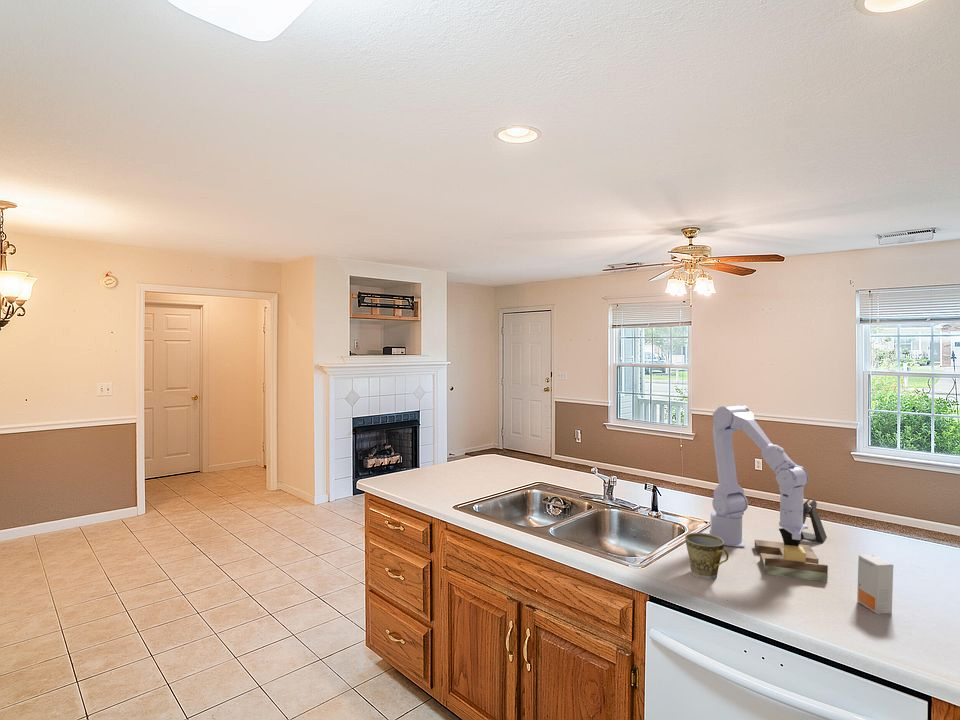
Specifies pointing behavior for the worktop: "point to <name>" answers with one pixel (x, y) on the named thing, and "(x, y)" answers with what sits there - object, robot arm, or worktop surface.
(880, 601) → the skincare box
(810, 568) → the box
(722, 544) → the ceramic cup
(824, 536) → the phone stand
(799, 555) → the block
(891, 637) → the worktop surface
